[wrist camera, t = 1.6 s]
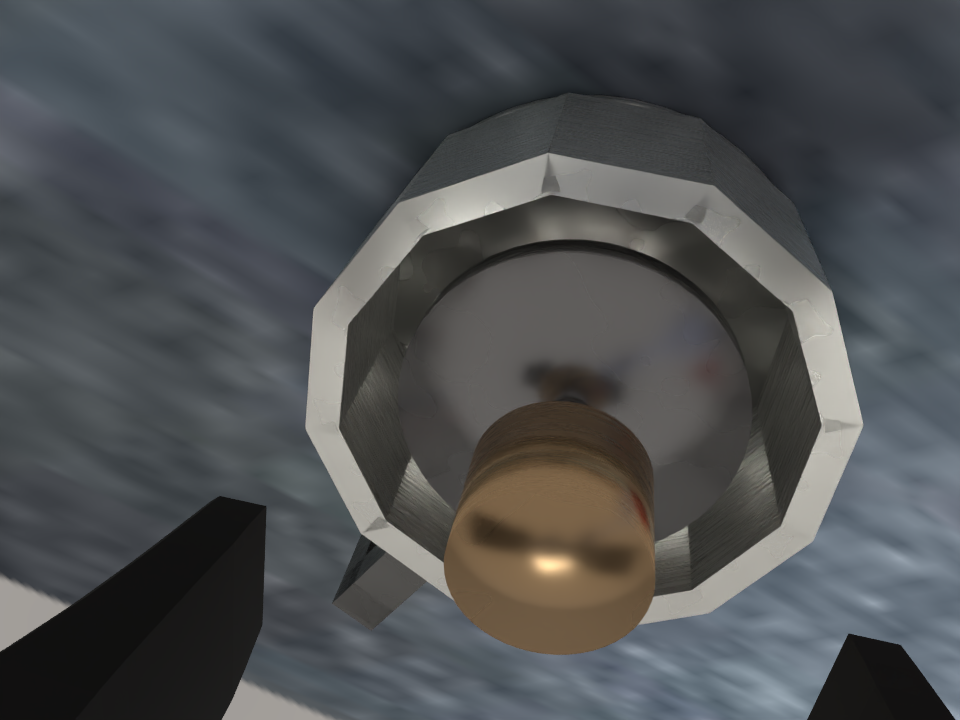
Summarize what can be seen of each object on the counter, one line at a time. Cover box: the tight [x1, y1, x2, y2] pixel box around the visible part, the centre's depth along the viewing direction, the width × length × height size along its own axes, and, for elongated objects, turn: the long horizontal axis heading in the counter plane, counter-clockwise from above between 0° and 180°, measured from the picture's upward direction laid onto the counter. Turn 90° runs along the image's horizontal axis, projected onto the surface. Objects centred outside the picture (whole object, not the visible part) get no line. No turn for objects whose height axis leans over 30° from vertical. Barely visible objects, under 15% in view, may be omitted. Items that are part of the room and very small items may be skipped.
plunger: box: [398, 239, 752, 655], centre depth 14 cm, size 6×6×5 cm
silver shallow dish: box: [305, 93, 863, 630], centre depth 18 cm, size 9×11×4 cm
